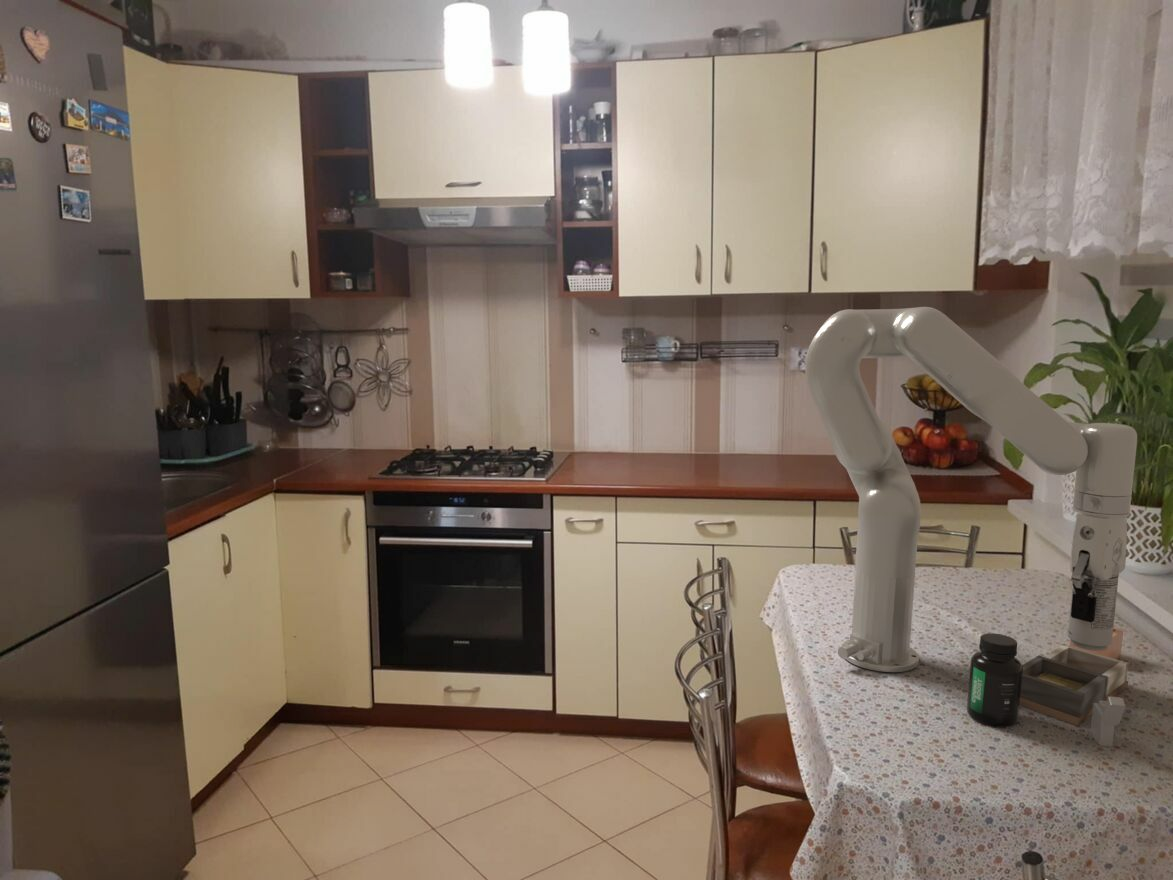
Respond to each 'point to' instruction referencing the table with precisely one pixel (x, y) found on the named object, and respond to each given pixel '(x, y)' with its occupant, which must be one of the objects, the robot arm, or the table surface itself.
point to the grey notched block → (1106, 719)
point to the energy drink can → (1097, 616)
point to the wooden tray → (1077, 666)
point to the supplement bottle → (995, 681)
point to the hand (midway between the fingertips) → (1091, 613)
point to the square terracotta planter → (1112, 649)
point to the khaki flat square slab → (1060, 681)
